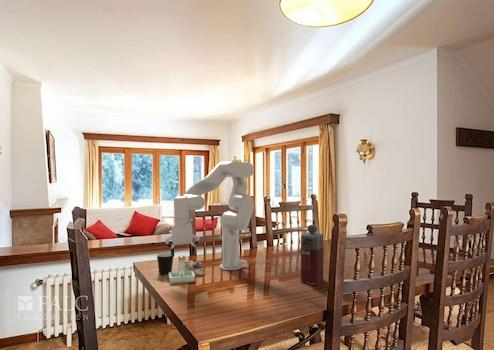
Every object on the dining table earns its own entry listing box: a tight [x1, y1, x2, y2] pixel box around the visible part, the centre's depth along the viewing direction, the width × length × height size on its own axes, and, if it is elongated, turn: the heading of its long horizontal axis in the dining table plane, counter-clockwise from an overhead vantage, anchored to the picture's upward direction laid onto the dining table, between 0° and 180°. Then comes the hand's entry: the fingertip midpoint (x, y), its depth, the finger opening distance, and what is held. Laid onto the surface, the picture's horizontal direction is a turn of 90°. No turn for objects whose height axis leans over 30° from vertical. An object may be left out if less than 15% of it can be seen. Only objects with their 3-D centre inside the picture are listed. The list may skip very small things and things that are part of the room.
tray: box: [168, 270, 196, 285], centre depth 167 cm, size 12×10×3 cm
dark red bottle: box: [300, 224, 324, 285], centre depth 165 cm, size 9×11×28 cm
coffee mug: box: [156, 252, 174, 276], centre depth 179 cm, size 12×9×10 cm
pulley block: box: [185, 260, 204, 276], centre depth 178 cm, size 11×7×6 cm, turn 107°
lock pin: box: [177, 255, 186, 277], centre depth 167 cm, size 3×3×11 cm
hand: (183, 255), depth 167 cm, fingers open, 9 cm apart
